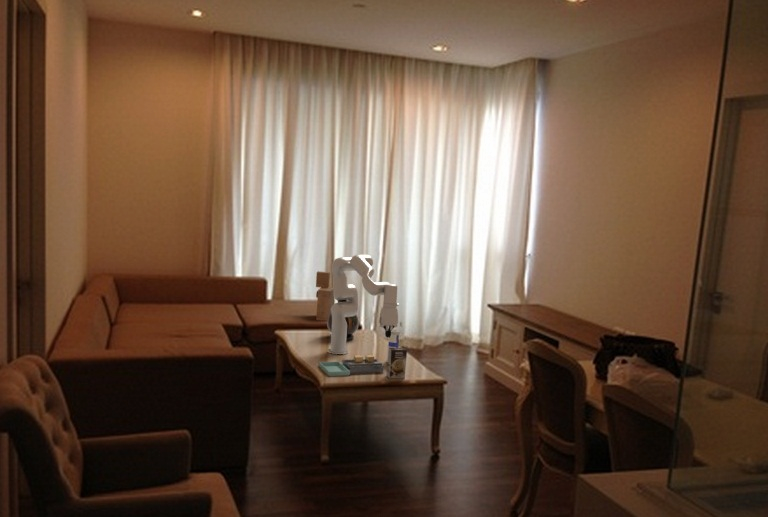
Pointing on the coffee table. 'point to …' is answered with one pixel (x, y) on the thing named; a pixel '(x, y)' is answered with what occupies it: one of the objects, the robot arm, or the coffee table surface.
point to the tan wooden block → (369, 358)
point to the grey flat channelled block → (362, 366)
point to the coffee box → (396, 362)
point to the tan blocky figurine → (324, 296)
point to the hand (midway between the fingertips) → (387, 337)
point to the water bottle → (393, 341)
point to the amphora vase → (351, 324)
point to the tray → (334, 369)
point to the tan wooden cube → (358, 359)
